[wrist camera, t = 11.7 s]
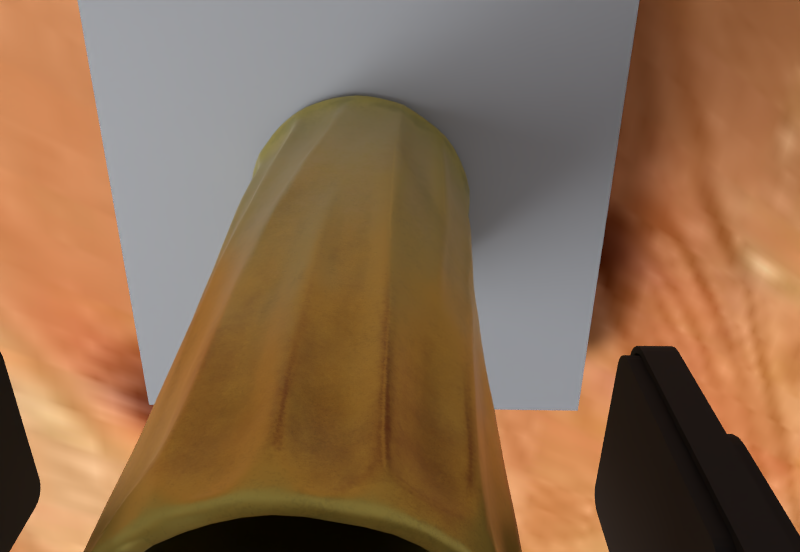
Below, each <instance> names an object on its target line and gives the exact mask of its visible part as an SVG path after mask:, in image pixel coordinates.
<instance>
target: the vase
mask: <svg viewBox="0 0 800 552" xmlns="http://www.w3.org/2000/svg"><path fill="white" fill-rule="evenodd" d="M469 195H470V190H469V186H468V181H467V177H466V174H465V171H464V168H463V166H462V163H461V161H460V159H459V157H458V155H457V153H456V151H455V149H454V147H453V146H452V144H451V143H450V142H449V140H448V139H447V138H446V136H445V135H444V134H443V133H441V132H440V131H439V130H438V129H437V128H436V127H435V126H434V125H432V124H431V123H429V122H428V121H427V120H426V119H424V118H423V117H422V116H420V115H419V114H417V113H416V112H414V111H413V110H411V109H410V108H408V107H406V106H405V105H403V104H400V103H397V102H393V101H389V100H385V99H381V98H376V97H370V96H359V95H355V96H344V97H337V98H332V99H328V100H325V101H322V102H318V103H315V104H313V105H310V106H308V107H305V108H303V109H302V110H300V111H298V112H296V113H295V114H294V115H292V116H291V117H290V118H289V119H287V120H286V121H285V122H284V123H283V124H282V125H281V126H280V127H279V128H278V129H277V130H276V131H275V132H274V134H273V135H272V136H271V138H270V139H269V141H268V142H267V143H266V145H265V146H264V147H263V149H262V150H261V152H260V153H259V156H258V159H257V161H256V164H255V168H254V171H253V176H252V180H251V182H250V184H249V186H248V188H247V190H246V191H245V193H244V195H243V197H242V199H241V201H240V203H239V206H238V208H237V210H236V213H235V215H234V218H233V220H232V223H231V225H230V228H229V230H228V233H227V235H226V238H225V240H224V243H223V245H222V248H221V250H220V253H219V255H218V258H217V261H216V263H215V266H214V268H213V271H212V273H211V275H210V278H209V280H208V282H207V285H206V287H205V289H204V292H203V294H202V297H201V299H200V301H199V304H198V306H197V309H196V312H195V314H194V317H193V319H192V321H191V323H190V326H189V328H188V330H187V332H186V335H185V337H184V339H183V341H182V344H181V346H180V348H179V350H178V353H177V355H176V357H175V359H174V361H173V364H172V366H171V368H170V370H169V373H168V375H167V377H166V379H165V381H164V384H163V386H162V388H161V390H160V392H159V395H158V397H157V399H156V402H155V404H154V406H153V408H152V411H151V413H150V415H149V418H148V420H147V422H146V424H145V426H144V429H143V431H142V433H141V435H140V437H139V439H138V442H137V444H136V446H135V448H134V450H133V452H132V454H131V456H130V458H129V460H128V462H127V464H126V466H125V468H124V470H123V472H122V474H121V476H120V478H119V480H118V482H117V484H116V486H115V488H114V490H113V492H112V494H111V496H110V498H109V500H108V502H107V504H106V506H105V508H104V510H103V512H102V514H101V516H100V518H99V520H98V523H97V525H96V527H95V529H94V531H93V533H92V535H91V537H90V539H89V541H88V544H87V546H86V548H85V550H84V552H522V550H521V545H520V540H519V534H518V529H517V524H516V519H515V514H514V509H513V504H512V499H511V495H510V490H509V485H508V480H507V475H506V470H505V465H504V460H503V455H502V449H501V444H500V438H499V433H498V427H497V422H496V416H495V410H494V405H493V400H492V395H491V391H490V386H489V381H488V376H487V371H486V365H485V360H484V354H483V347H482V341H481V333H480V325H479V318H478V311H477V305H476V299H475V291H474V280H473V260H472V244H471V229H470V221H469V204H470V196H469Z"/></svg>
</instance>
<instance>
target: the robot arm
mask: <svg viewBox="0 0 800 552" xmlns="http://www.w3.org/2000/svg"><path fill="white" fill-rule="evenodd" d="M39 496H40V480H39V476H38V473H37V469H36V466H35V463H34V459H33V456H32V453H31V449H30V446H29V443H28V439H27V436H26V433H25V429H24V426H23V423H22V419H21V416H20V413H19V409H18V406H17V403H16V399H15V396H14V393H13V389H12V386H11V382H10V379H9V376H8V372H7V369H6V366H5V362H4V359H3V356H2V354H1V352H0V552H9V551H10V550H11V548H12V546H13V545H14V543H15V541H16V539H17V538H18V536H19V534H20V533H21V531H22V529H23V527H24V526H25V524H26V522H27V521H28V519H29V517H30V516H31V514H32V512H33V510H34V509H35V507H36V505H37V503H38V500H39ZM595 504H596V510H597V514H598V517H599V520H600V523H601V527H602V530H603V533H604V536H605V540H606V543H607V546H608V549H609V552H800V535H799V534H798V532H797V531H796V529H795V527H794V526H793V524H792V522H791V521H790V519H789V517H788V516H787V514H786V512H785V511H784V509H783V507H782V506H781V504H780V503H779V501H778V499H777V498H776V496H775V494H774V493H773V491H772V489H771V488H770V486H769V484H768V483H767V481H766V479H765V478H764V476H763V475H762V473H761V471H760V470H759V468H758V466H757V465H756V463H755V461H754V460H753V458H752V456H751V455H750V453H749V451H748V450H747V448H746V447H745V445H744V444H743V442H742V441H741V440H740V439H739V437H737V436H735V435H733V434H726V432H725V430H724V429H723V427H722V425H721V423H720V422H719V420H718V418H717V417H716V415H715V413H714V411H713V410H712V408H711V406H710V405H709V403H708V401H707V400H706V398H705V396H704V394H703V393H702V391H701V389H700V388H699V386H698V384H697V383H696V381H695V379H694V377H693V376H692V374H691V372H690V371H689V369H688V367H687V366H686V364H685V362H684V360H683V359H682V357H681V355H680V354H679V352H678V351H677V349H676V348H675V347H672V346H636V347H634V348H633V350H632V352H631V355H623V356H621V357H620V359H619V362H618V367H617V372H616V378H615V383H614V388H613V394H612V399H611V404H610V410H609V415H608V420H607V426H606V431H605V437H604V442H603V447H602V453H601V458H600V463H599V469H598V474H597V479H596V485H595Z"/></svg>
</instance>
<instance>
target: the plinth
mask: <svg viewBox="0 0 800 552" xmlns="http://www.w3.org/2000/svg"><path fill="white" fill-rule="evenodd" d="M78 5H79V11H80V16H81V22H82V28H83V33H84V39H85V45H86V50H87V56H88V62H89V67H90V73H91V79H92V84H93V90H94V95H95V101H96V107H97V112H98V118H99V124H100V129H101V135H102V141H103V146H104V152H105V158H106V163H107V169H108V175H109V180H110V186H111V191H112V197H113V203H114V208H115V214H116V220H117V225H118V231H119V237H120V242H121V248H122V254H123V259H124V265H125V271H126V276H127V282H128V287H129V293H130V299H131V304H132V310H133V316H134V321H135V327H136V333H137V338H138V344H139V350H140V355H141V361H142V367H143V372H144V378H145V383H146V389H147V395H148V400H149V405H154V404H155V402H156V399H157V397H158V395H159V392H160V390H161V388H162V386H163V384H164V381H165V379H166V377H167V375H168V373H169V370H170V368H171V366H172V364H173V361H174V359H175V357H176V355H177V353H178V350H179V348H180V346H181V344H182V341H183V339H184V337H185V335H186V332H187V330H188V328H189V326H190V323H191V321H192V319H193V317H194V314H195V312H196V309H197V306H198V304H199V301H200V299H201V297H202V294H203V292H204V289H205V287H206V285H207V282H208V280H209V278H210V275H211V273H212V271H213V268H214V266H215V263H216V261H217V258H218V255H219V253H220V250H221V248H222V245H223V243H224V240H225V238H226V235H227V233H228V230H229V228H230V225H231V223H232V220H233V218H234V215H235V213H236V210H237V208H238V206H239V203H240V201H241V199H242V197H243V195H244V193H245V191H246V190H247V188H248V186H249V184H250V182H251V180H252V176H253V171H254V168H255V164H256V161H257V159H258V156H259V153H260V152H261V150H262V149H263V147H264V146H265V145H266V143H267V142H268V141H269V139H270V138H271V136H272V135H273V134H274V132H275V131H276V130H277V129H278V128H279V127H280V126H281V125H282V124H283V123H284V122H285V121H286V120H287V119H289V118H290V117H291V116H292V115H294V114H295V113H296V112H298V111H300V110H302V109H303V108H305V107H308V106H310V105H313V104H315V103H318V102H322V101H325V100H328V99H332V98H337V97H344V96H355V95H359V96H370V97H376V98H381V99H385V100H389V101H393V102H397V103H400V104H403V105H405V106H406V107H408V108H410V109H411V110H413V111H414V112H416V113H417V114H419V115H420V116H422V117H423V118H424V119H426V120H427V121H428V122H429V123H431V124H432V125H434V126H435V127H436V128H437V129H438V130H439V131H440V132H441V133H443V134H444V135H445V136H446V138H447V139H448V140H449V142H450V143H451V144H452V146H453V147H454V149H455V151H456V153H457V155H458V157H459V159H460V161H461V163H462V166H463V168H464V171H465V174H466V177H467V181H468V186H469V190H470V195H469V196H470V204H469V221H470V229H471V244H472V260H473V280H474V291H475V299H476V305H477V311H478V318H479V325H480V333H481V341H482V347H483V354H484V360H485V365H486V371H487V376H488V381H489V386H490V391H491V395H492V400H493V405H494V409H507V410H578V405H579V399H580V392H581V385H582V379H583V372H584V365H585V359H586V352H587V345H588V339H589V332H590V325H591V319H592V312H593V305H594V299H595V292H596V285H597V279H598V272H599V265H600V259H601V252H602V246H603V239H604V232H605V226H606V219H607V212H608V206H609V199H610V192H611V186H612V179H613V172H614V166H615V159H616V152H617V146H618V139H619V132H620V126H621V119H622V112H623V106H624V99H625V93H626V86H627V79H628V73H629V66H630V59H631V53H632V46H633V39H634V33H635V26H636V19H637V13H638V6H639V0H78Z"/></svg>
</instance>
